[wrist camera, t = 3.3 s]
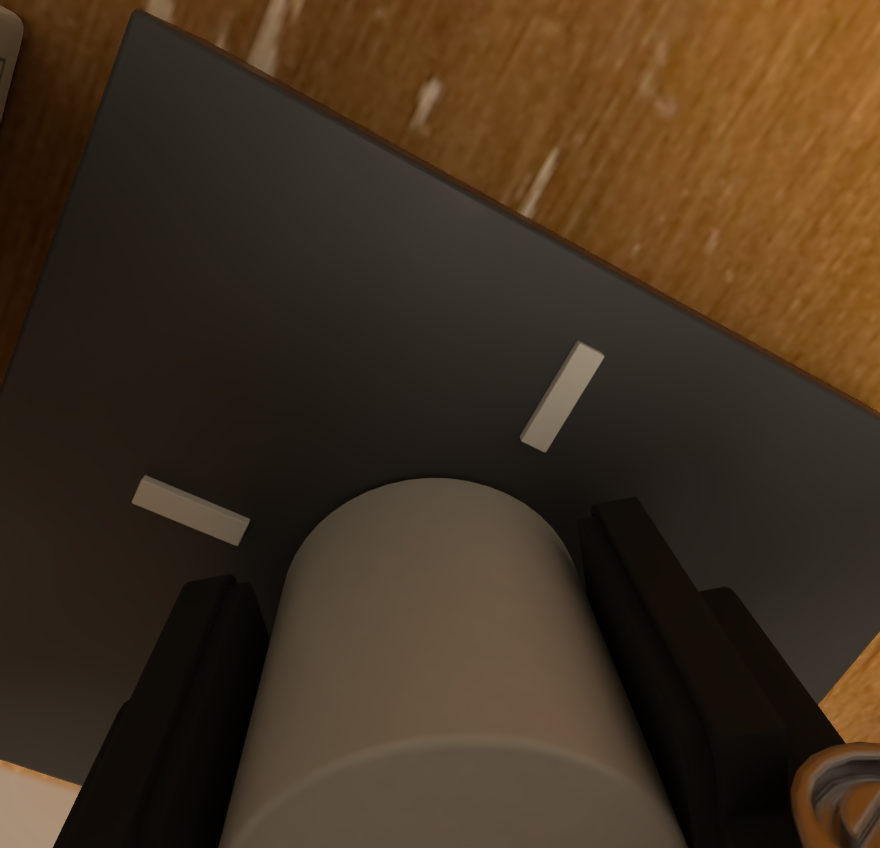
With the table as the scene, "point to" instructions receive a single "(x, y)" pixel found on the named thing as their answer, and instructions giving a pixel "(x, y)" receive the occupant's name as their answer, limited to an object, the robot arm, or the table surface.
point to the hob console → (364, 392)
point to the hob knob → (442, 690)
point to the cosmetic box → (8, 50)
